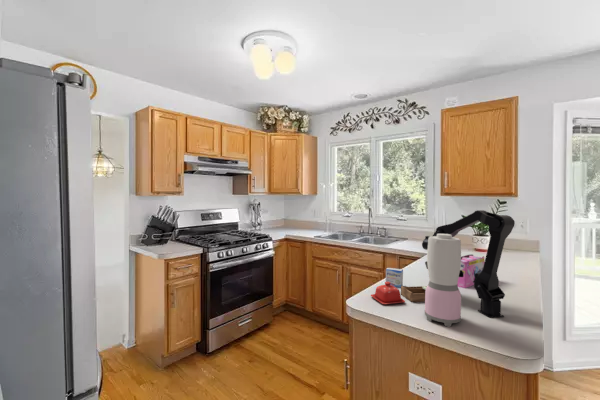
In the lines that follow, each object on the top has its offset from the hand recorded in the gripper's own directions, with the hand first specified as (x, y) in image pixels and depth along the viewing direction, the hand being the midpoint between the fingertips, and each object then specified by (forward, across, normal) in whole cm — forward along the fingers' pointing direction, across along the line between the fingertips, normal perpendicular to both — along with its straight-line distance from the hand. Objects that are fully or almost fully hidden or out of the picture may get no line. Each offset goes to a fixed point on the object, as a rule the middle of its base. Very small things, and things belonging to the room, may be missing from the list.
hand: (443, 287), depth 134 cm
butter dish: (+5, +1, -28) cm, 28 cm away
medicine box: (+5, -18, -15) cm, 24 cm away
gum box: (+5, -19, +27) cm, 34 cm away
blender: (+5, +21, -15) cm, 26 cm away
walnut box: (+4, 0, -11) cm, 12 cm away
